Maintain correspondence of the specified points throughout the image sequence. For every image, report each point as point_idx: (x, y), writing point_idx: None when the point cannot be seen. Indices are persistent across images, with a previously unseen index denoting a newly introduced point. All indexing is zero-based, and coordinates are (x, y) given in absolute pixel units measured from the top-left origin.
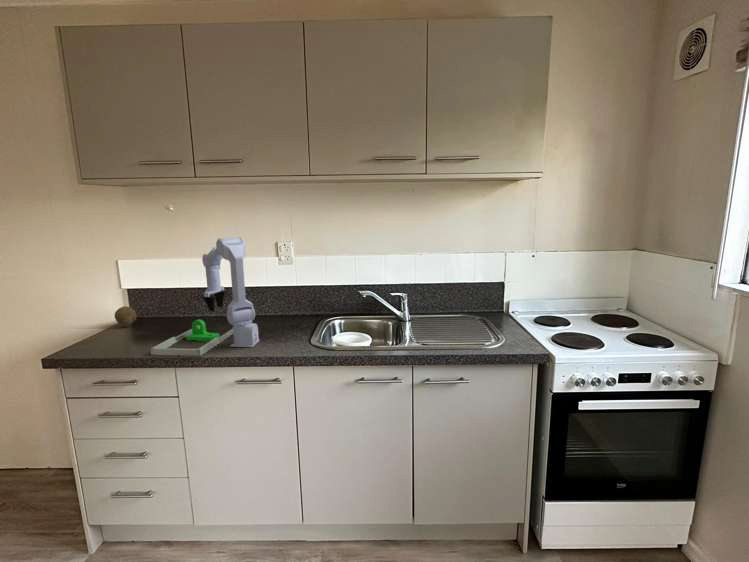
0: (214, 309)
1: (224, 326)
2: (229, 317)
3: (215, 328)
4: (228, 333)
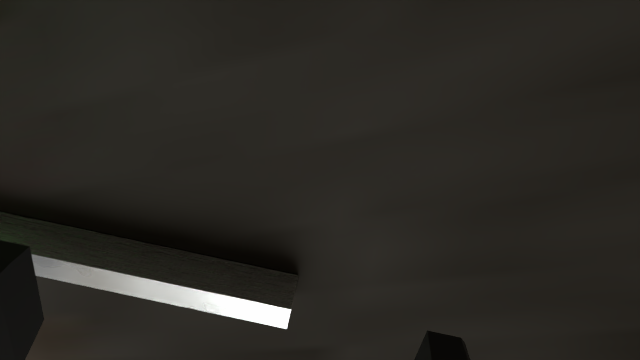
0: (19, 352)
1: (454, 120)
2: None
3: (372, 17)
4: None
